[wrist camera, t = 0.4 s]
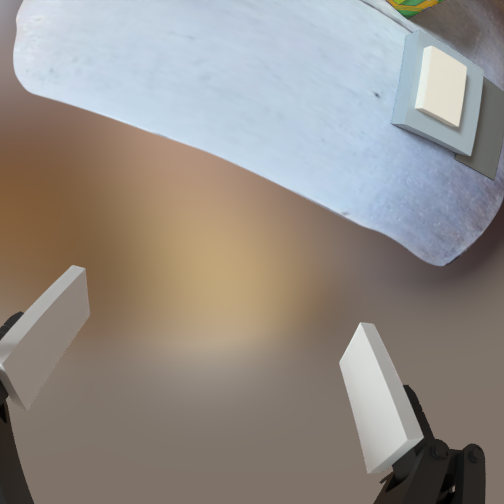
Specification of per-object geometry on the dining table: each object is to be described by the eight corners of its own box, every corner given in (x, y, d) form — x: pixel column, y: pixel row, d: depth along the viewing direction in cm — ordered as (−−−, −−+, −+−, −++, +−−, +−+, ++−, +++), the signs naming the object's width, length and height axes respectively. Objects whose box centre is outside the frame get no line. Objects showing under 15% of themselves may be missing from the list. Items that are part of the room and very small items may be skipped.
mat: (469, 67, 27) (470, 67, 27) (507, 96, 28) (508, 96, 28) (454, 159, 34) (455, 159, 34) (492, 179, 35) (493, 180, 34)
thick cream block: (423, 48, 24) (431, 45, 23) (458, 68, 25) (466, 66, 23) (414, 108, 28) (422, 108, 26) (449, 126, 28) (458, 127, 27)
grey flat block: (405, 36, 27) (419, 29, 23) (468, 72, 28) (483, 70, 24) (390, 123, 33) (404, 124, 29) (454, 152, 33) (470, 156, 30)
